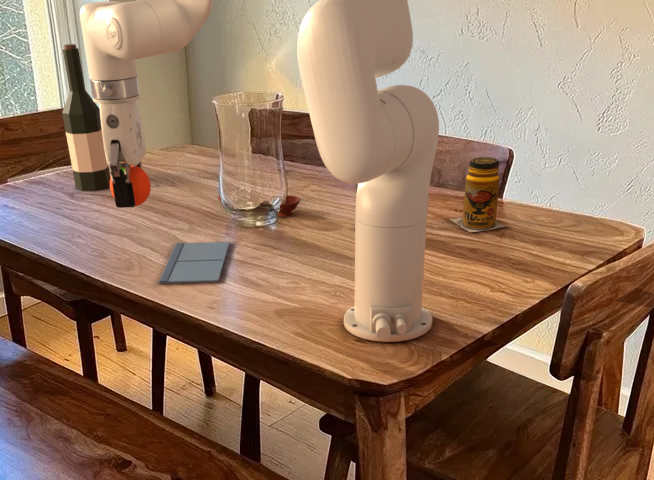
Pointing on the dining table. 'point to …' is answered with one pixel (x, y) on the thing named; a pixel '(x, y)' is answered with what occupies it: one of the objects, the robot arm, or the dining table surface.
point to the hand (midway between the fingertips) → (131, 198)
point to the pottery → (285, 206)
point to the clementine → (137, 184)
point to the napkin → (195, 263)
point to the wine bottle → (83, 129)
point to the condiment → (481, 196)
